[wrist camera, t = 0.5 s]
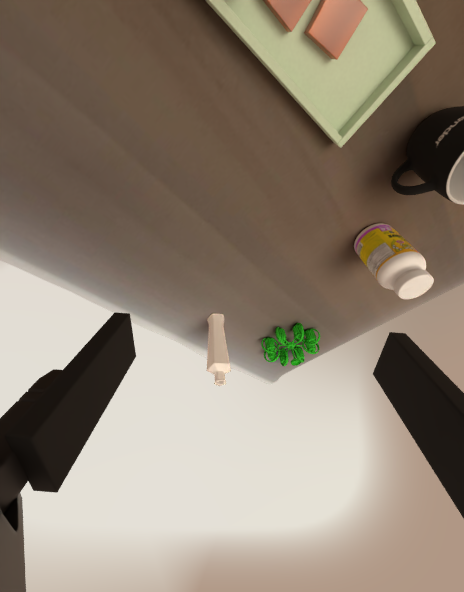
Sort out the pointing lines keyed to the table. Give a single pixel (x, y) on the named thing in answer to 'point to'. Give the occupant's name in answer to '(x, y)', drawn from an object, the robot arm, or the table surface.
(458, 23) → the table surface
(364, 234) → the supplement bottle
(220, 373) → the perfume bottle
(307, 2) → the chip
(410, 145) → the mug
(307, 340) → the chandelier
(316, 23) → the orange square block
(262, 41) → the tray
